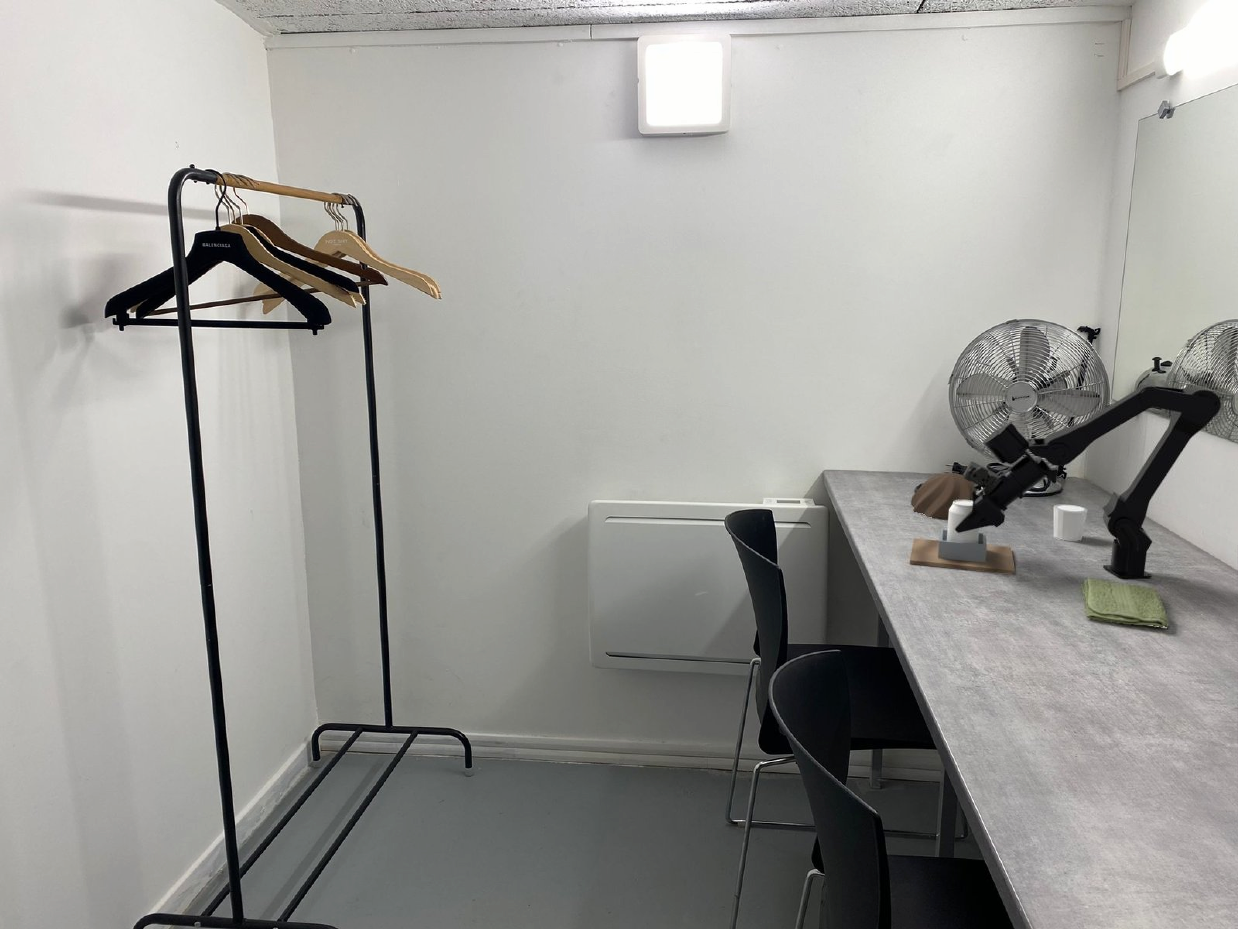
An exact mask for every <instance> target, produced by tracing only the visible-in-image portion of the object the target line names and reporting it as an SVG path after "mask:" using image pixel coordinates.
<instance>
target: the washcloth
mask: <svg viewBox="0 0 1238 929" xmlns="http://www.w3.org/2000/svg"><path fill="white" fill-rule="evenodd" d="M1080 593H1081V594H1082V596H1083V600H1084V609H1085V611H1084V612H1085V614H1084V615H1085V618H1087V619H1089V620H1090V619H1091V620H1090V621H1095V620H1102V621H1101V622H1104V621H1109V622H1108V623H1115V622H1119V623H1118V624H1120V623H1123V625H1131V624H1134V625H1133V626H1143V625H1153V626H1159V627H1163V626H1165V627H1167V628H1168V629H1169V627H1168V626H1169V625H1170V621H1169V620H1168V617H1167V614H1166V613H1167V612H1166V610H1165V607H1164V604H1163V601H1162V599H1161V595H1160V594H1159V593H1158V591H1157V589H1156V588H1153V587H1149V586H1144V585H1140V584H1139V585H1135V584H1130V583H1126V584H1122V583H1118V582H1111V581H1109V580H1102V579H1095V578H1087V579H1086V580H1084V581H1083V583H1082V585H1081V587H1080ZM1110 621H1112V622H1110Z"/></svg>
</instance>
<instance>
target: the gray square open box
mask: <svg viewBox="0 0 1238 929" xmlns="http://www.w3.org/2000/svg"><path fill="white" fill-rule="evenodd" d="M947 531H948V528H947V529H946V528H940V529H939V538H938V541H939V550H938V558H944V559H954V560H964V561H975V562H985V560H986V548H987V545H988V542H987V532H980V531H979V539H978V544H976V543H965V542H954V541H947Z"/></svg>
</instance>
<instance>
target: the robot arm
mask: <svg viewBox="0 0 1238 929" xmlns="http://www.w3.org/2000/svg"><path fill="white" fill-rule="evenodd" d="M1221 407H1222V402H1221V400H1220V397H1219V396H1218V395H1217V394H1216V393H1215V392H1213V391H1211V390H1210V389H1208V388H1206V387H1204V386H1200V385H1192V386H1189V387H1186V388H1179V387H1168V386H1157V385H1153V384H1149V383H1146V384H1141V385H1140V386H1139V387H1137V388H1136V389H1135V390H1134V391H1132V392H1130V393H1129V394H1127V395H1126V396H1123V397H1122V398H1121V399H1119V400H1118V401H1115V402H1114V403H1113V404H1112V403H1111V405H1108V406H1107V407H1106V408H1104V409H1102V410H1101V411H1098V412H1097V413H1096V414H1094V415H1092V416H1091V417H1089V418H1087V419H1085V420H1083V421H1082V422H1080V423H1078V424H1074V425H1071V426H1067V427H1064V428H1062V429H1060V430H1059V429H1058V430H1057V431H1055V432H1052V433H1050V434H1048V435H1046V436H1045V437H1042V438H1041V437H1040V438H1030V439H1029V438H1028V439H1027V438H1026V437H1025V436H1024V435H1023V434H1022V433H1021V432H1020V431H1019V430H1018V429H1017V427H1016V425H1015V424H1014V423H1013V422H1011V421H1010V422H1008V423H1007V424H1006V425H1003V426H1002V427H1000V428H998V429H996V430H994V431H993V432H991V434H989V435H988V436H987V437H986V438H985V440H984V441H983V442H982V444H983V445H984V446H985V447H986V448H987V449H988V450H989V451H990V452H991V453H992V455H993V456H994V457H996V459H998V462H1000V463H1001V464H1006V463H1007V464H1009V465H1011V464H1013V465H1012V466H1010V467H1009V468H1007V470H999V472H996V473H995V472H993V470H990V469H988V468H986V467H984V466H983V465H981V464H979V463H976V462H974V461H970V463H968V466H967V468H966V469H965V470H964V473H963V474H962V475H964V476H963V478H964V479H966V480H968V481H972V482H974V483H976V484H974V487H975V489H979V490H978V491H975V490H974V489H973V490H972V500H971V501H973V503H972V511H971V512H970V513H969V514H968V515H967V516H966V517H965V518H964V519H963V520H962V521H961V522H960V523H959V525H958V526H957V527H956V528H955V530H956V531H957V532H958V533H960V532H965V531H969V530H973V529H977V528H979V529H981V528H986V527H990V526H991V527H993V526H994V527H995V528H998V527H1000V526H1001V525H1002V524H1003V523H1005V518H1006V517H1005V515H1006V514H1005V511H1006V510H1008V506H1010V505H1011V504H1012V503H1014V502H1015V501H1016V500H1018V499H1019V500H1021V499H1023V498H1024V497H1025V494H1026V493H1027V492H1028V491H1029V490H1031V489H1032V488H1033V487H1035V486H1036V485H1038V484H1039V483H1040V482H1041V481H1043V480H1045V478H1047V479H1048V480H1049V481H1050V482H1051V483H1052V484H1056V483H1057V475H1058V473H1059V469H1058V468H1057V467H1052V466H1051V467H1050V465H1049V464H1048V463H1050V464H1051V465H1053V466H1058V467H1064V466H1066V465H1069V464H1070V463H1072V462H1073V461H1074V460H1075V459H1076V458H1078V457H1079V456H1080V455H1081V454H1082V453H1083V452H1084V451H1086V450H1087V448H1088V447H1090V445H1091V444H1093V442H1095V441H1096V440H1098V439H1099V438H1101V437H1103V436H1104V435H1106V434H1109V432H1110V433H1111V431H1113V430H1115V429H1116V428H1118V427H1120V426H1121V425H1123V424H1125V423H1127V422H1128V421H1130V420H1131V419H1133V418H1135V417H1137V416H1138V415H1140V414H1142V413H1144V412H1146V410H1149V409H1150V408H1157V409H1162V410H1167V411H1171V416H1170V419H1169V423H1168V426H1167V427H1166V430H1165V431H1164V433H1163V434H1162V436H1161V437H1160V440H1159V441H1158V442H1157V444H1156V445H1155V447H1154V448H1153V450H1152V452H1151V453H1150V455H1149V456H1148V458H1147V459H1146V461H1145V463H1144V464H1143V465H1142V467H1141V469H1139V472H1138V473H1137V475H1136V476H1135V478H1134V480H1133V481H1132V482H1131V484H1130V486H1129V487H1128V488H1127V489H1126V490H1125V491H1124V492H1122V493H1121V494H1118V493H1117V492H1115V491H1113V492H1112V493H1111V495H1110V499H1109V501H1108V502H1107V503H1106V505H1104V506H1103V507H1102V510H1103V511H1104V512H1103V515H1102V520H1103V523H1104V525H1105V527H1106V528H1107V531H1108V533H1110V535H1111V536H1113V537H1114V538H1113V543H1112V550H1111V558H1110V564H1104V565H1102V568H1103V569H1104V570H1106V571H1108V572H1109V573H1111V575H1114V576H1116V577H1117V578H1120V579H1139V578H1140V579H1143V578H1144V579H1145V578H1147V579H1149V578H1152V574H1151V573H1149V572H1147V571H1146V564H1147V562H1146V561H1147V554H1148V550H1149V549H1150V547H1151V545H1152V544H1153V541H1152V539H1151V537H1150V536H1149V534H1148V533H1147V532H1146V530H1145V528H1143V525H1144V523H1145V519H1146V516H1147V513H1148V509H1149V505H1150V501H1151V499H1152V498H1153V496H1154V495H1155V493H1156V492H1157V491H1158V489H1159V487H1160V486H1161V484H1162V483H1163V481H1164V480H1165V478H1166V477H1167V475H1168V474H1169V472H1170V471H1171V469H1172V467H1173V466H1174V464H1175V463H1176V461H1178V458H1179V457H1180V455H1182V452H1183V451H1184V449H1185V448H1186V446H1187V445H1188V443H1189V442H1190V440H1191V439H1192V437H1194V436H1195V435H1196V434H1198V433H1199V432H1201V430H1203V429H1204V428H1205V427H1207V425H1209V423H1210V422H1211V421H1212V420H1213V419H1214V418H1215V417H1216V416H1217V415H1218V413H1219V412H1220V411H1221ZM1028 450H1029V451H1028ZM1031 453H1032V454H1031ZM1024 455H1025V456H1024ZM1023 456H1024V457H1023ZM1036 457H1038V458H1036ZM1019 459H1020V460H1019ZM1044 459H1045V460H1046V461H1047V462H1048V463H1047V462H1046V461H1045V460H1044ZM1015 462H1016V463H1015Z"/></svg>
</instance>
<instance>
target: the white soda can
mask: <svg viewBox="0 0 1238 929" xmlns="http://www.w3.org/2000/svg"><path fill="white" fill-rule="evenodd" d="M972 503H973V501H971V500H955V501H953V504H952V506H951V507H950V509H949V517H948V520H947V530H948V531H947V541H954V542H965V543H976V544H978V539H979V532H980V528H977V529H973V530H969V531H965V532H960V533H958V532H957V531H956V530H955V528H956V527H957V526H958V525H959V523H960V522H961V521H962V520H963V519H964V518H965V517H966V516H967V515H968V514H969V513H970V512H971V511H972Z"/></svg>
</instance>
